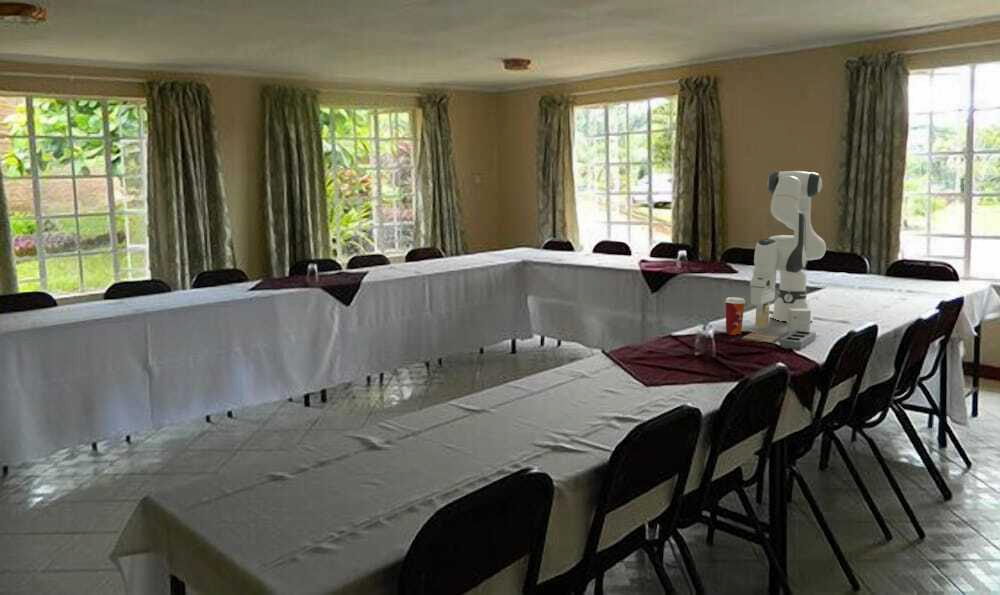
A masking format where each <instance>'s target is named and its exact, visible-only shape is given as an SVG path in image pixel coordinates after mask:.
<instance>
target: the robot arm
mask: <svg viewBox="0 0 1000 595" xmlns="http://www.w3.org/2000/svg"><path fill="white" fill-rule="evenodd" d="M822 187H823V179H822V176H821V174H820V173H817V172H813V171H811V172H808V171H802V170H791V171H789V170H787V171H785V170H784V171H781V170H778V171H777V170H776V171H773V172H772V173H771V174H770V175H769V178H768V180H767V188H768V192H769V193H770V194H771V195H772V198H771V202H770V214H771V215H772V217H774V218H775V219H776V220H777V221H778V222H780V223H782V224H784V225H785V227H787V228H789V229H790V230H792V231H793V234H792V235H787V234H780V235H773V236H769V237H768V238H764V239H759V240H758V241H757V242H756V245H755V247H754V257H753V258H754V259H753V263H754V264H753V265H754V269H753V274H752V277H751V280H750V281H749V286H750V304H751V306H755V307H756V306H757V310H758V315H763V304H770V302H773V301H774V303H773V304H774V305H773V314H771V315H769V318H770V317H772V318H774V319H773V320H775V319H776V320H775V321H777V320H779V321H778V322H782V321H786V322H785V323H787V319H788V308H802V309H808V310H810V305H809V302H808V301H807V295H808V294H807V292H808V290H807V289H806V286H807V285H806V284H807V273H806V272H805V271H804V268H806V264H807V261H814V260H820V259H822V258H824V256H825V253H826V252H827V245H826V242H825V240H824V239H823V238H822V237H821V236H819V235H818V234H817V233H816V232H815V229H813V225H812V223H811V222H812V221H811V220H812V219H811V216H812V215H811V214H812V213H811V209H812V198H813V197H817V196H818V195H819V194H820V191H821V190H822ZM777 271H779V289H778V292H777V294H778V296H777V297H778V298H777V299H776V300H775V297H776V285H777ZM772 318H771V319H772ZM812 320H814V315H812V314H811V316H810V323H812V322H813V321H812ZM811 321H812V322H811Z"/></svg>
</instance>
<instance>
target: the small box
mask: <svg viewBox="0 0 1000 595" xmlns="http://www.w3.org/2000/svg"><path fill="white" fill-rule="evenodd" d="M811 315H812V312H811V310H810V309H809V310H808V309H802V308H788V319H787V322H786V333H787V332H788V333H787V334H790V333H792V332H793V331H795V330H798V331H807V332H811V331H810V330H811V329H810V327H811V322H810V316H811Z"/></svg>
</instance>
